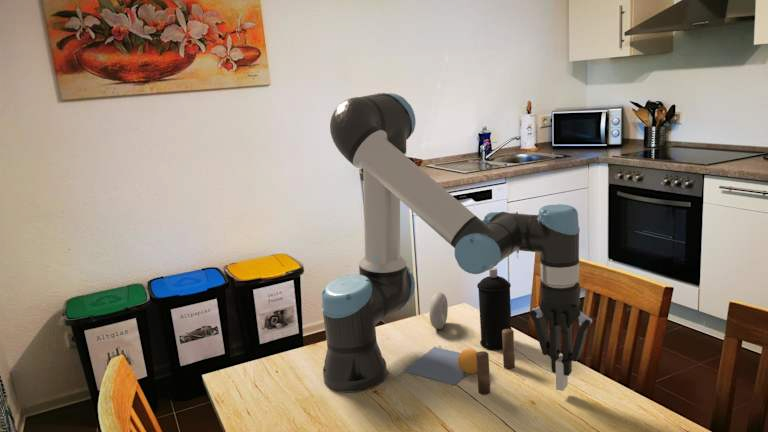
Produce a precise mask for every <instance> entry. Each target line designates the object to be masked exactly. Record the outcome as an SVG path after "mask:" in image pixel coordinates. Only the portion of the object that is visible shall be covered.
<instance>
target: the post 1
mask: <svg viewBox="0 0 768 432" xmlns="http://www.w3.org/2000/svg"><path fill="white" fill-rule="evenodd" d="M476 359H477V372H476V374H477V377H476V378H477V392H478V393H477V394H479V395H482V396H487V395H489V394H491V379H490V374H491V373H490V358H489V353H488V352H487V351H484V350H483V351H477V353H476Z"/></svg>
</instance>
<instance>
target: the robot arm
mask: <svg viewBox="0 0 768 432" xmlns="http://www.w3.org/2000/svg"><path fill="white" fill-rule="evenodd" d="M415 115H416V114H415V111H414V109H413V107H412V106H411V104H410V103H409V102H408V101H407V99H405V97H403V96H401V95H399V94H396V93H390V92H389V93H386V92H382V93H380V92H379V93H374V94H370V95H368V94H367V95H363V96H355V97H351V98H347V99H346V100H343V101H342V102H341V103H339V105H338V106H337V107H336V108H335V109H334V111H333V113H332V115H331V118H330V123H329V124H330V125H329V129H330V130H329V132H330V135H331V138H332V141H333V143H334V145H335V147H336V148H337V150H338V151H339V152H340V154H341V155H342V156H343V157H344V158H345V159H346V160H347V161H348V162H349V163H350V164H351V165H353V166H354V167H355V168H356V169H363V173H362V174H363V209H364V210H363V216H364V217H363V218H364V219H363V221H364V253H365V254H364V256H363V257H362V259H360V260H359V262H358V268H359V270H358V273H359V274H355V273H354V274H348V275H345V276H340V277H337V278H334V279H333V280H331V281H329V282H328V283H327V284H326V285H325V286H324V287H323V290H322V291H321V310H322V314H323V315H322V316H323V325H324V331H325V338H326V347H327V349H326V354H325V358H324V364H323V365H324V366H323V369H322V375H323V378H322V379H323V382H324V384H325V385H326V386H327V387H328V388H330V389H331V390H333V391H338V392H343V393H345V392H346V393H347V392H348V393H354V392H362V391H365V390H369V389H372V388H374V387H376V386H378V385H380V384H381V383H382V382H384V380H385V379H386V377H387V376H388V366H387V362H386V360H385V358H384V357H383V355H382V352H381V350H380V347H379V345H378V341H377V330H376V325H377V324H378V323H380V322H381V321H383V320H384V319H386V318H387V317H389V316H391V315H392V314H394V313H396V312H398V311H400V310H402V308H404V307H405V306H406V305H407V304H408V303H409V302H410V301H411V299H412V297H413V296H414V293H415V288H416V282H415V277H414V275H413V273H411V269H410V268H409V267H408V265H407V261H406V259H405V258H404V257H402V255H401V202H402V203H403V204H404V205H405V206H406V207H407V208H408V209H410V210H411V211H412V212H413V213H414V214H416V215H417V217H419V218H420V219H421V220H422V221H423V222H424V223H425V224H426V225H428V227H430V228H431V229H432V230H433V231H434V232H435V233H437V234H438V235H439V236H440V237H441V238H442V239H443V240H445V242H447V243H448V244H449V245H450V246H451V247H453V248H454V258H455V260H456V263H457V265H458V266H459V267H460V268H461V269H462V271H464V272H466V273H468V274H471V275H481V274H483V273H485V272H487V271H489V269H492V268H495V267H496V266H497V265H499V263H501V261H504V259H506V258H508V257H510V255H512V254H513V253H515V252H516V251H519V252H520V251H521V252H522V251H523V252H531V253H539V263H540V264H539V265H540V267H539V268H540V270H539V271H540V281H541V283H540V299H541V301H540V303H539V306H538V307H537V306H535V307H533V308H532V309H531V310H530V311H528V315H529V316H530V318H531V320H532V321H533V324H534V328H535V331H536V334H537V339H538V343H539V347H540V351H541V353H542V355H543V356H547V357H549V358H550V359H551V360H550V361H551V362H550V363H551V373H554V374H555V389H556V390H557V391H562V392H564V391H565V390H566V388H567V387H568V385H569V384H568V383H569V382H568V377H569V376H570V375H572V374H571V373H572V370H573V369H572V367H573V365H572V362H574V363H575V362H577V361H578V360H579V358H580V357H581V356H582V352H583V350H584V346H585V342H586V337H587V334H588V330H589V327H590V325H591V324H592V323H593V322H594V321H595V320H594V317H593V316H591V315H590V316H589V315H586V314H585V313H583V308H582V306H581V305H580V301H581V300H580V298H581V297H580V295H581V294H580V289H581V287H580V282H579V281H580V225H579V213H578V210H577V209H576V208H575V207H574V206H572V205H569V204H548V205H544V206H542V207H540V209H539V210H538V214H527V213H515V212H514V213H513V212H508V211H507V212H505V211H500V212H498V211H496V212H495V211H494V212H489V213H487V214H485V216H484V219H483V220H482V219H480V218H479V217H478V216H477V215H475V213H473V212H472V211H471V210H469V208H467V206H465V205H464V204H463V203H462V202H460V201H459V200H458V199H457V198H455V197H454V196H453V195H452V194H451V193H450V192H449V191H447V189H445V188H444V187H443V186H442V185H440V184H439V183H438V182H437V181H436V180H434V179H433V178H432V176H430V175H429V174H427V172H425V171H424V170H423V169H422V168H421V167H420V166H419V165H417V164H416V163H415V162H414V161H412V159H410V158H408V156H407V140H409V138H410V137H411V136H412V135H413V133H414V131H415V128H416V116H415ZM544 317H545V318H544ZM545 319H546V320H547V321H548V329H547V324H546V321H545ZM576 320H578V326H579V327H578V330H577V333H576V334H577V335H576V338H575V340H574V341H575V342H574V344H573V326H574V323H575V322H576ZM548 330H549V332H548ZM573 345H574V346H573ZM561 353H562V354H561Z"/></svg>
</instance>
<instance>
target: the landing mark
mask: <svg viewBox="0 0 768 432" xmlns="http://www.w3.org/2000/svg"><path fill="white" fill-rule="evenodd" d="M460 353H461V352H458V351H455V350H449V349H446V348H441V347H437V346H433V347H432V348H431V349H429V350H428V351H427V352H426V353H424V354H423V355H422V356H421V357H419V358H418V359H416V361H414V362H413V363H411V364H410V365H409V366H407V367H406V368H404V369H403V371H402V372H403V373H406V374H407V373H408V374H410V375H411V374H412V375H415V376H418V377H421V378H427V379H429V380H433V381H436V382H441V383H444V384H447V385H451V386H456V385H457V384H458V383H459V382H461V380H463V378H465V377H466V376H467V375H469V373H466V372H464V371H462V370H461V368H460V367H459V365H458V357H459V355H460Z"/></svg>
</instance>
